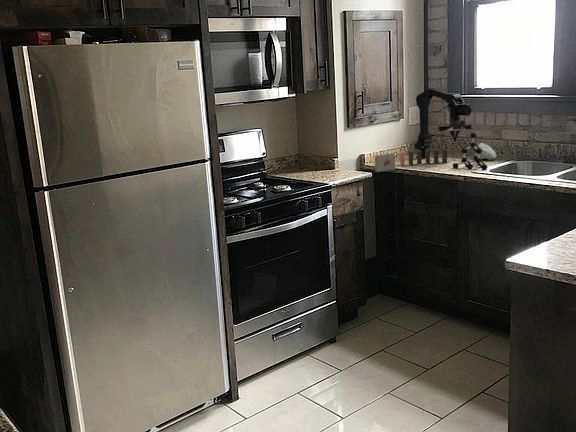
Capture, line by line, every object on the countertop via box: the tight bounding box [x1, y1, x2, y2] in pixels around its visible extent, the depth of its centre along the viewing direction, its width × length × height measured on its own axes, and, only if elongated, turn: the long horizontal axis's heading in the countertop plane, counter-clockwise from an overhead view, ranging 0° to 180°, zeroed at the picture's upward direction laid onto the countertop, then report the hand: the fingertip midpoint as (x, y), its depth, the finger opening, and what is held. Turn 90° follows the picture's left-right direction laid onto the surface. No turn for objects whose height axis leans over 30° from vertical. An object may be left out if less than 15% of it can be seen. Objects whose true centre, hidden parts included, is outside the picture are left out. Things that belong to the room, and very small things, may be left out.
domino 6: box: [441, 148, 448, 164], centre depth 374 cm, size 2×5×8 cm, turn 179°
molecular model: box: [452, 132, 488, 171], centre depth 354 cm, size 18×20×20 cm
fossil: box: [374, 152, 396, 173], centre depth 362 cm, size 12×4×10 cm, turn 116°
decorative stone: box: [477, 142, 497, 161], centre depth 377 cm, size 13×11×10 cm
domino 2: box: [408, 150, 414, 166], centre depth 375 cm, size 2×5×8 cm, turn 179°
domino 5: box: [433, 149, 439, 165], centre depth 375 cm, size 2×5×8 cm, turn 179°
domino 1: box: [399, 150, 406, 166], centre depth 375 cm, size 2×5×8 cm, turn 179°
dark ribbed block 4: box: [416, 149, 423, 165], centre depth 375 cm, size 2×5×8 cm, turn 179°
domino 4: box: [424, 149, 431, 165], centre depth 375 cm, size 2×5×8 cm, turn 179°
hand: (454, 141), depth 372 cm, fingers closed
